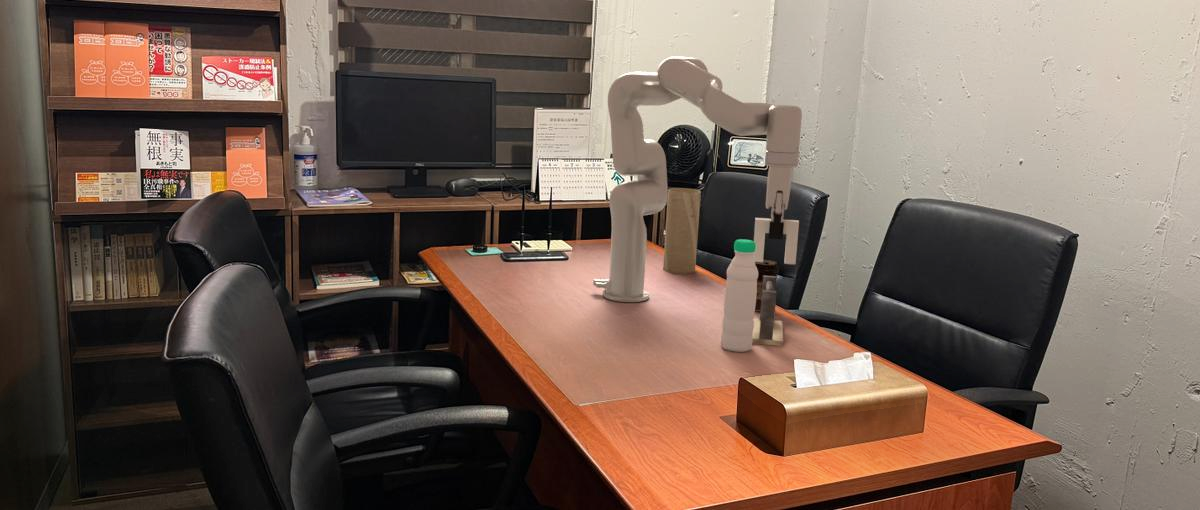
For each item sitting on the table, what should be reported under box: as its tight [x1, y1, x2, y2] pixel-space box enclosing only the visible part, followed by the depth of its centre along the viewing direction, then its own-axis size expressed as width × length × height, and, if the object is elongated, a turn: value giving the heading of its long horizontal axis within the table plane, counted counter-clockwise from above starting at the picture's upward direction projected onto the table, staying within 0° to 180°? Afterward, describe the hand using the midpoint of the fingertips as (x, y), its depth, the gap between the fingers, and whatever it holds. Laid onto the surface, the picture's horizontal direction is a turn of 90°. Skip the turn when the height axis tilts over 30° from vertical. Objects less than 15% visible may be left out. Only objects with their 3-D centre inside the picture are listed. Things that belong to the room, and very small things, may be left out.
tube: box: [662, 187, 702, 275], centre depth 271 cm, size 10×10×25 cm
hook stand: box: [752, 275, 784, 347], centre depth 210 cm, size 8×17×12 cm, turn 170°
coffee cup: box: [755, 259, 780, 312], centre depth 231 cm, size 9×8×13 cm
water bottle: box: [720, 238, 758, 353], centre depth 197 cm, size 7×7×25 cm
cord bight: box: [753, 217, 800, 265], centre depth 206 cm, size 10×3×10 cm, turn 80°
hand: (775, 237), depth 206 cm, fingers closed on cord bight, 2 cm apart
